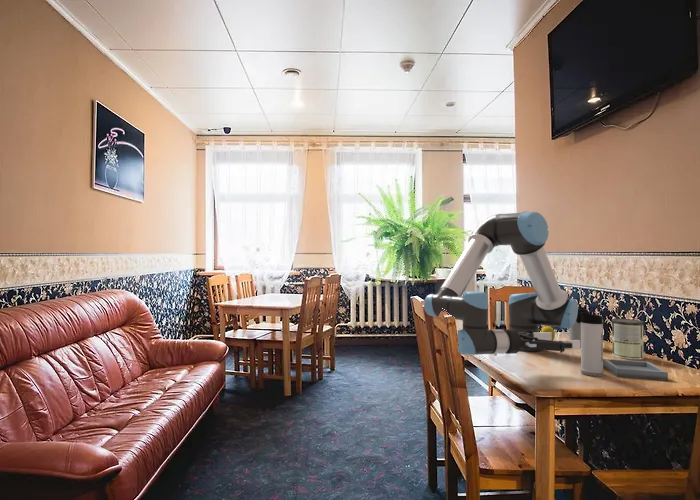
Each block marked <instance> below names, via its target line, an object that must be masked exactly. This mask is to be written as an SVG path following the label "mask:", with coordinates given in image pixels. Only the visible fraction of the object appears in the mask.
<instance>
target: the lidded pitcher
mask: <svg viewBox="0 0 700 500" xmlns="http://www.w3.org/2000/svg"><path fill="white" fill-rule="evenodd" d="M580 312H583V313H588V314H590V311H588V310H580V309H578V314H577V319H576V322H575V324H574V325H573V326H572V327H571V328H568V331H569V333H568V335H569V338H568V340H580V349H581V315H580ZM596 315H599V316H602V314H596ZM602 322H603V323H604V320H603V321H602ZM602 326H603V327H604V324H603V325H602Z"/></svg>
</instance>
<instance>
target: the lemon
mask: <svg viewBox="0 0 700 500" xmlns="http://www.w3.org/2000/svg"><path fill="white" fill-rule="evenodd" d="M541 332H551V333H552V341H555V338H556V333H555V329H554V328H553V327H552V326H545V325H544V327H543V328H542V329H541Z"/></svg>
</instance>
